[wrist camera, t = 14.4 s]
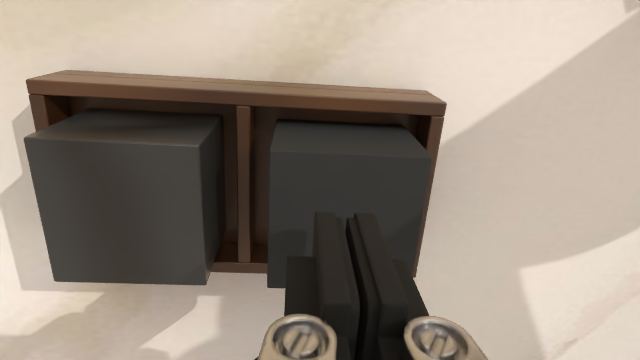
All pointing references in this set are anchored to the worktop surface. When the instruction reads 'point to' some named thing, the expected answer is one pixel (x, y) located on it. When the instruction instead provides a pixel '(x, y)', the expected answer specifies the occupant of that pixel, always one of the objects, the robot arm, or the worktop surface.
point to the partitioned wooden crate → (179, 167)
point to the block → (343, 185)
